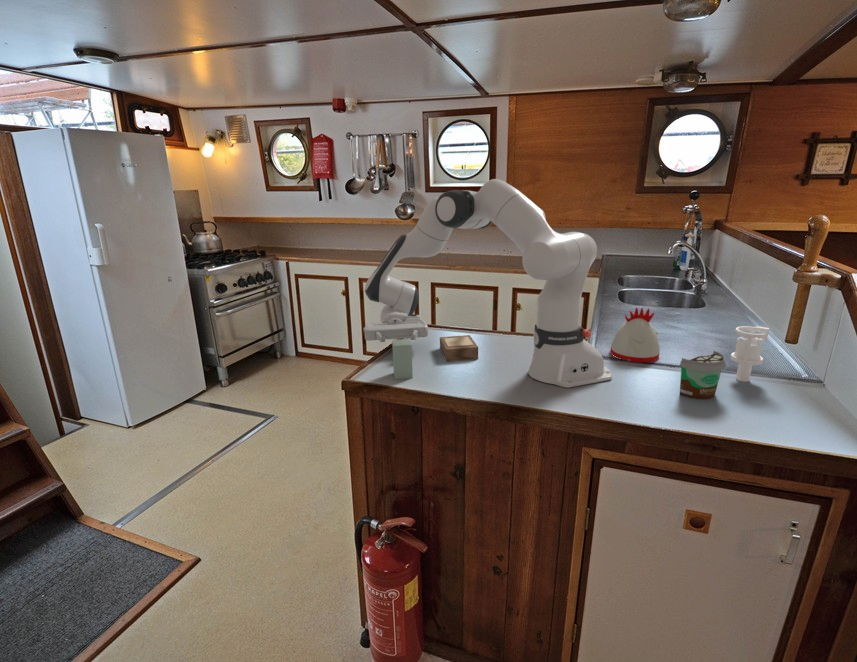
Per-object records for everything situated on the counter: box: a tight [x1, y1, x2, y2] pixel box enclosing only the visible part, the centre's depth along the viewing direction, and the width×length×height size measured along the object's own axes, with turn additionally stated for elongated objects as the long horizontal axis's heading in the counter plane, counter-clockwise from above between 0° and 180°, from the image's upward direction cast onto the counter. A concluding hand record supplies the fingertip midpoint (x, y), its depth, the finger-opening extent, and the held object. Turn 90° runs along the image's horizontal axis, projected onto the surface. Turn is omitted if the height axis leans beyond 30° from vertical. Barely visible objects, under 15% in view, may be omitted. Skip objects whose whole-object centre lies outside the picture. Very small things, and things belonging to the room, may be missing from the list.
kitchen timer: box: [610, 307, 661, 363], centre depth 145 cm, size 14×14×15 cm
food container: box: [679, 350, 727, 400], centre depth 118 cm, size 12×6×10 cm, turn 114°
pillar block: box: [391, 338, 414, 380], centre depth 135 cm, size 5×5×10 cm
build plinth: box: [439, 334, 479, 362], centre depth 152 cm, size 10×12×4 cm
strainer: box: [730, 325, 770, 383], centre depth 125 cm, size 7×7×15 cm
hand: (397, 338), depth 146 cm, fingers open, 8 cm apart
